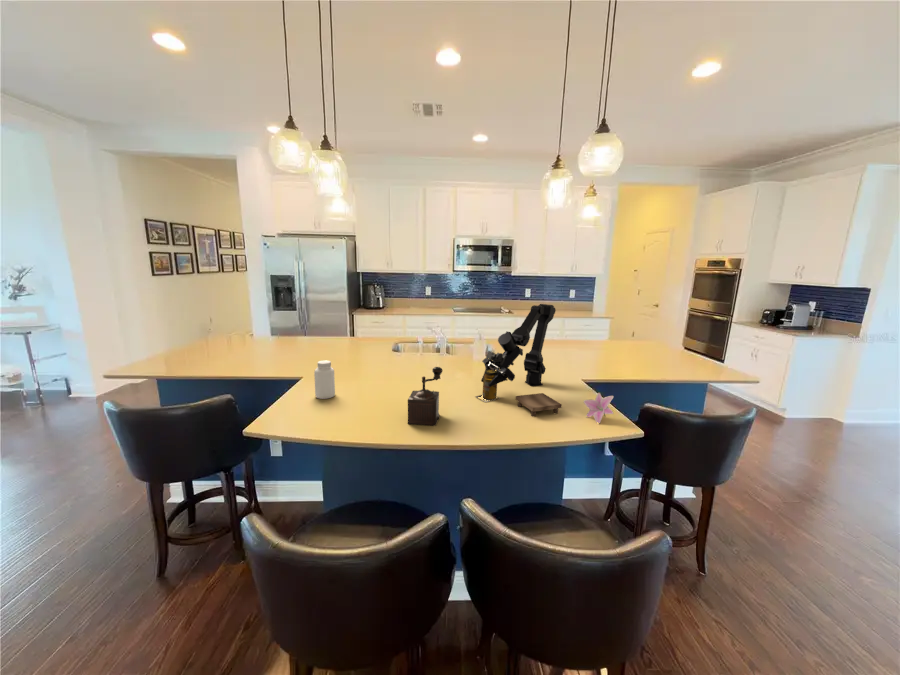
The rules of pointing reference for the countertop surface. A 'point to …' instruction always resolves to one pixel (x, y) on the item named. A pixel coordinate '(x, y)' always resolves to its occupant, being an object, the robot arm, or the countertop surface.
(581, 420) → the countertop surface
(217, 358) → the countertop surface
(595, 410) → the lily
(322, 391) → the pill bottle
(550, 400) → the stool
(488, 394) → the condiment
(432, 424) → the manual coffee grinder
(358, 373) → the countertop surface
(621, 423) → the countertop surface
